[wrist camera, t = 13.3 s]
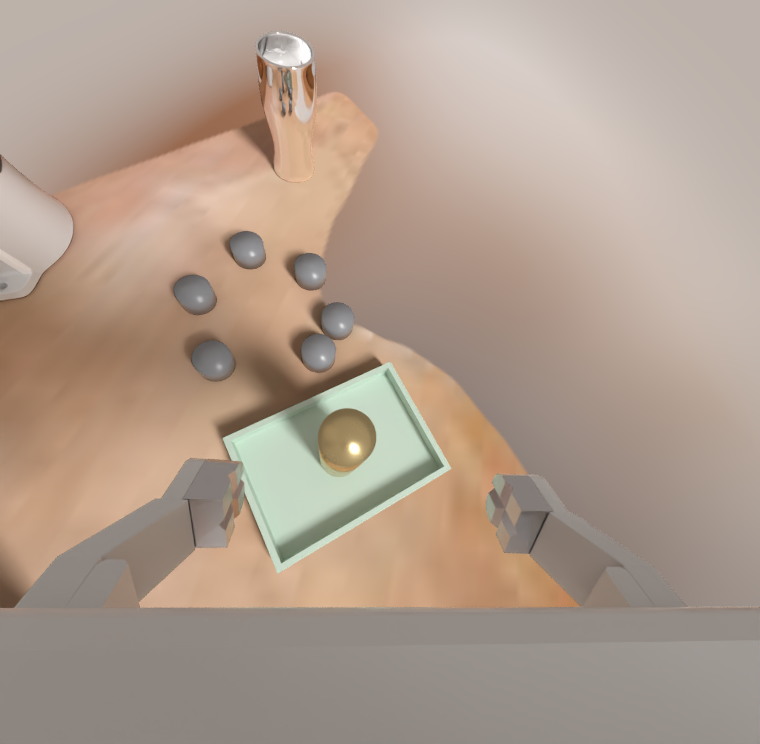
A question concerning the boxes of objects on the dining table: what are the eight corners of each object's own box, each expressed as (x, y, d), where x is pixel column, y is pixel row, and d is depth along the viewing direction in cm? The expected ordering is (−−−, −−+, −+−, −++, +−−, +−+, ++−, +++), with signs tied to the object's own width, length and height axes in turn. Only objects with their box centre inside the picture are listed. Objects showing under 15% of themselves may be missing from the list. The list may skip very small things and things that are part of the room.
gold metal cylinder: (330, 484, 37) (333, 477, 25) (313, 447, 38) (308, 423, 26) (366, 465, 38) (386, 449, 26) (348, 429, 39) (360, 398, 27)
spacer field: (218, 417, 38) (212, 412, 36) (158, 270, 43) (149, 257, 40) (368, 352, 44) (371, 344, 41) (300, 229, 48) (298, 215, 46)
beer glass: (287, 145, 54) (275, 21, 40) (325, 165, 53) (327, 48, 40) (261, 171, 51) (239, 48, 37) (302, 192, 51) (295, 77, 37)
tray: (280, 568, 34) (277, 573, 31) (228, 441, 37) (222, 438, 35) (443, 470, 40) (451, 468, 37) (386, 369, 43) (390, 361, 41)
